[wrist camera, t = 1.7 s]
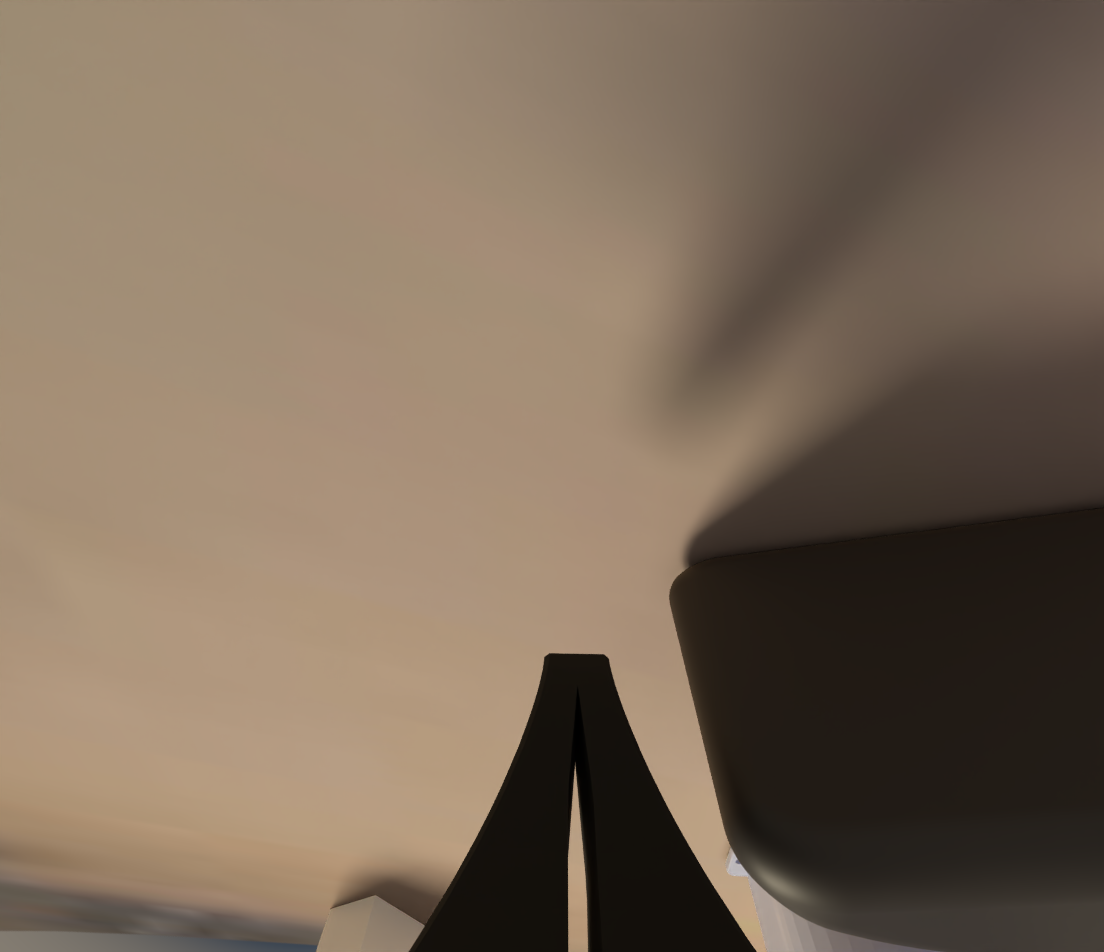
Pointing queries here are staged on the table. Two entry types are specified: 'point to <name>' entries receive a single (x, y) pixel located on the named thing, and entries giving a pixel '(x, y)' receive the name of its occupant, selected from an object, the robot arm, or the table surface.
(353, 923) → the white wedge bracket
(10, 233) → the table surface
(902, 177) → the table surface
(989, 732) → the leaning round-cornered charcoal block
